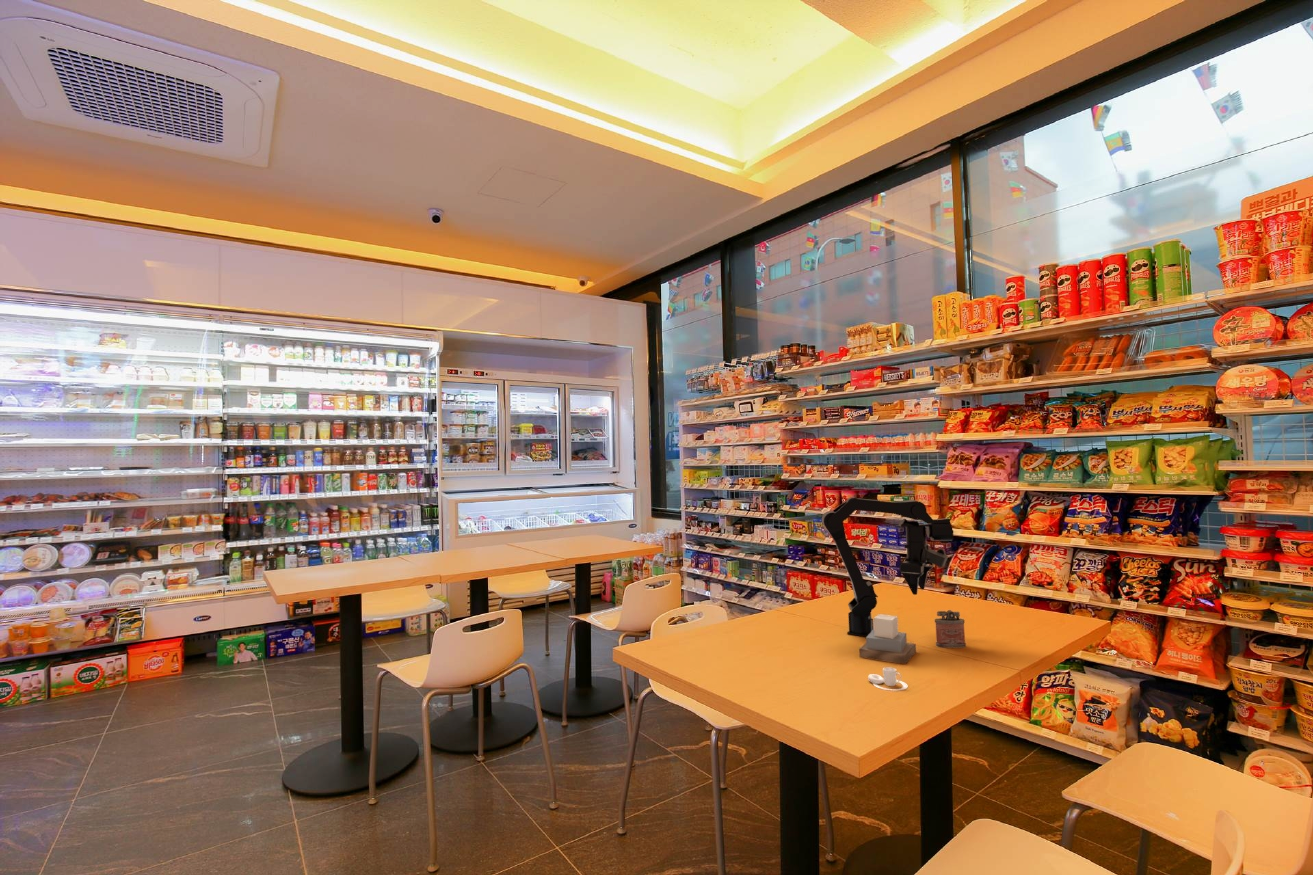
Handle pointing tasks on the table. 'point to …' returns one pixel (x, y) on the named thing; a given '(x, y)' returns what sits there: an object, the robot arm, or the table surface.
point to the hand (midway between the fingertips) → (918, 591)
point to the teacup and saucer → (887, 679)
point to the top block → (886, 642)
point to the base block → (889, 654)
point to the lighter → (950, 630)
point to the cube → (886, 626)
